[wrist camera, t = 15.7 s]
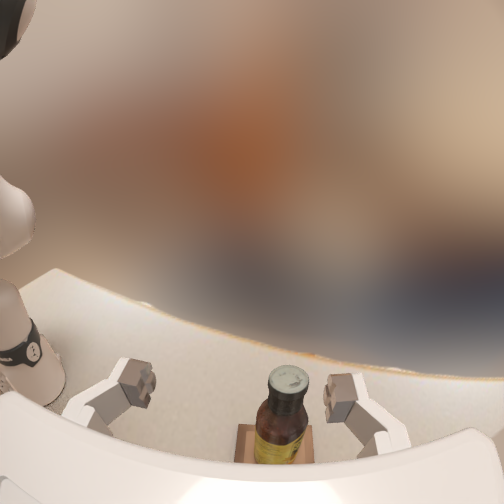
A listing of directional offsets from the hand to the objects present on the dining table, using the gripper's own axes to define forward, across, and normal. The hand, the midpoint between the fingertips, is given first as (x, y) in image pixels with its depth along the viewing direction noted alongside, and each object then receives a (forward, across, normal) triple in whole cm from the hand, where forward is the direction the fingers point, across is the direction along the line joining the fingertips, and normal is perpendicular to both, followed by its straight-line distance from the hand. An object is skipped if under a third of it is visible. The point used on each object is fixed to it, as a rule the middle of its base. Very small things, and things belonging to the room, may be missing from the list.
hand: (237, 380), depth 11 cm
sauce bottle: (+9, -4, +31) cm, 33 cm away
